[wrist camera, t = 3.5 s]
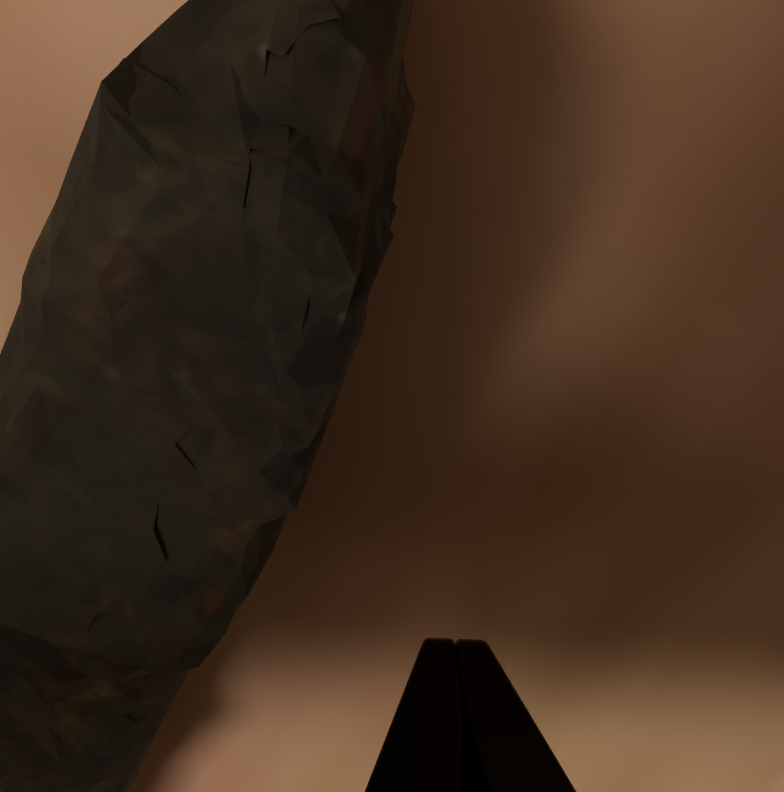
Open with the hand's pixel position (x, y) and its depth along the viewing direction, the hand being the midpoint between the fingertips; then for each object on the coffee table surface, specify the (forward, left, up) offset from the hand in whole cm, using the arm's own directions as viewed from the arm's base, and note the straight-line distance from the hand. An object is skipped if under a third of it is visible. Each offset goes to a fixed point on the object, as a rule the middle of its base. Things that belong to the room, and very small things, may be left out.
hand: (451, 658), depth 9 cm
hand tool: (+6, 0, -2) cm, 6 cm away
